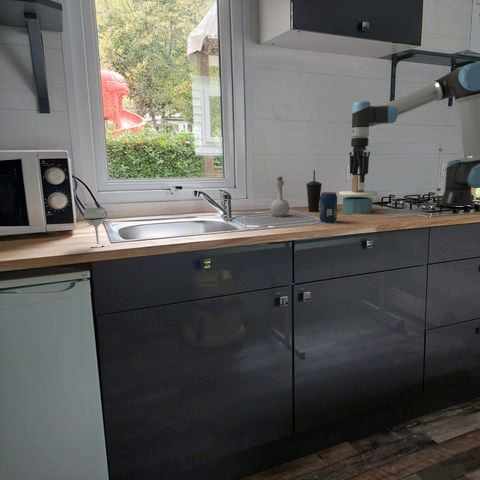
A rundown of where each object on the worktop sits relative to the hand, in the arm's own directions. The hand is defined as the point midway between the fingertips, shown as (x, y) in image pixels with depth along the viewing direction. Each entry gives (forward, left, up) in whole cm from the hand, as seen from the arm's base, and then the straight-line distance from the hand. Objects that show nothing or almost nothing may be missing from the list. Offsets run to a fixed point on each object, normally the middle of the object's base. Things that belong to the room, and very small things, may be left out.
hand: (357, 189), depth 180 cm
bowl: (0, 0, -11) cm, 11 cm away
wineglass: (+113, +31, -11) cm, 118 cm away
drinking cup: (+16, -13, -11) cm, 24 cm away
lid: (0, 0, -3) cm, 3 cm away
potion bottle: (+36, -7, -11) cm, 38 cm away
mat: (-17, +10, -11) cm, 23 cm away
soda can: (+24, +17, -11) cm, 32 cm away
